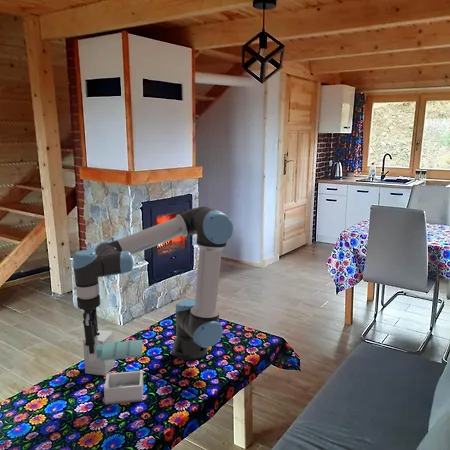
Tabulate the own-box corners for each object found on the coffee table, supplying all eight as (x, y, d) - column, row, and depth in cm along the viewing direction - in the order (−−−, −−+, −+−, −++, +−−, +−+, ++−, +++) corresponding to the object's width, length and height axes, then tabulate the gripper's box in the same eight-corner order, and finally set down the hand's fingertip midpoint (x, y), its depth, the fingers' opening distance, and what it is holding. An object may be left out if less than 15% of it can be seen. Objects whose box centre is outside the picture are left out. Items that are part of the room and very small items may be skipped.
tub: (143, 384, 160) (142, 370, 159) (142, 401, 151) (141, 386, 150) (108, 388, 159) (107, 373, 157) (105, 404, 149) (103, 389, 148)
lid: (142, 344, 157) (142, 336, 157) (141, 359, 147) (141, 351, 146) (91, 348, 155) (90, 340, 154) (86, 364, 144) (85, 356, 144)
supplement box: (105, 376, 166) (103, 341, 163) (84, 373, 168) (81, 339, 165) (116, 364, 175) (113, 330, 172) (96, 361, 177) (93, 328, 173)
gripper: (81, 287, 152) (87, 346, 157) (71, 306, 136) (78, 371, 141) (102, 285, 153) (107, 344, 159) (95, 304, 137) (101, 369, 142)
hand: (94, 356), depth 150 cm, fingers closed on lid, 4 cm apart
